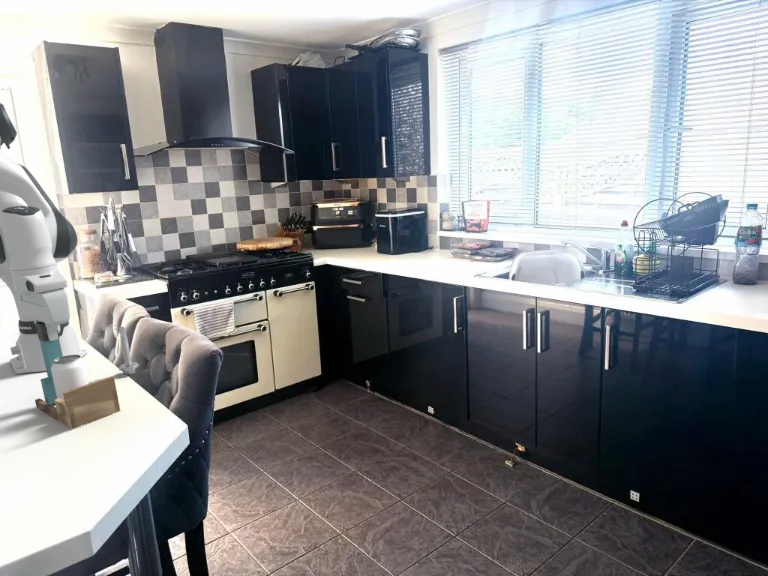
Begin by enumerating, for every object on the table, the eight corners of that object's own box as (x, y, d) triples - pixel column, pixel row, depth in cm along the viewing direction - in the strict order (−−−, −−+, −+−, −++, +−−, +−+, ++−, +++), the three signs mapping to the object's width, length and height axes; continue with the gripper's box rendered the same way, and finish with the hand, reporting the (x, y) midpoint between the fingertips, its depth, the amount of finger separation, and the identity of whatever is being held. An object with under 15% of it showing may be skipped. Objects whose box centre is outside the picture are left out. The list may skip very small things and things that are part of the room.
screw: (119, 378, 140) (120, 372, 144) (139, 374, 141) (140, 368, 146) (110, 330, 137) (112, 325, 141) (131, 326, 138) (132, 322, 143)
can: (85, 400, 126) (75, 352, 124) (97, 406, 122) (87, 356, 120) (55, 411, 122) (44, 360, 119) (67, 417, 118) (56, 366, 115)
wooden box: (36, 407, 124) (29, 375, 122) (82, 392, 132) (75, 361, 130) (72, 429, 112) (64, 393, 110) (120, 410, 119) (113, 376, 117)
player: (44, 403, 125) (27, 324, 121) (73, 393, 130) (58, 317, 126) (50, 406, 123) (32, 326, 119) (79, 395, 128) (63, 319, 124)
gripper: (4, 278, 125) (17, 335, 128) (37, 286, 112) (51, 349, 115) (34, 273, 129) (46, 328, 132) (69, 279, 117) (82, 340, 120)
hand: (49, 338), depth 123 cm, fingers closed on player, 3 cm apart
